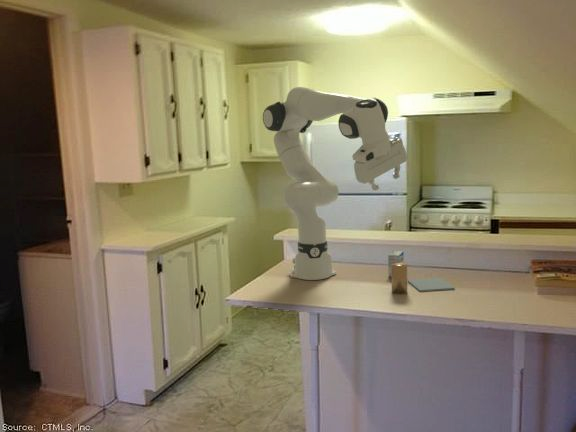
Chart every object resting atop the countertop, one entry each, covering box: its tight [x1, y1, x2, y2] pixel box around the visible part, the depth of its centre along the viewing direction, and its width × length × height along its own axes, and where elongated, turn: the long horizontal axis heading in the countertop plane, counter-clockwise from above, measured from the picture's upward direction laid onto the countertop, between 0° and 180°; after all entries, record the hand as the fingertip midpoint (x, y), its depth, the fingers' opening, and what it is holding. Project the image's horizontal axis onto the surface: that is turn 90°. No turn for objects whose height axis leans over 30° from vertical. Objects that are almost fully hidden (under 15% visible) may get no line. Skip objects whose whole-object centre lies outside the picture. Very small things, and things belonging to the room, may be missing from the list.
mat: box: [407, 277, 456, 293], centre depth 194 cm, size 13×13×1 cm
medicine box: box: [387, 250, 405, 277], centre depth 210 cm, size 8×4×9 cm, turn 154°
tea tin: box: [391, 262, 408, 295], centre depth 187 cm, size 6×6×10 cm
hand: (386, 183), depth 181 cm, fingers open, 8 cm apart
